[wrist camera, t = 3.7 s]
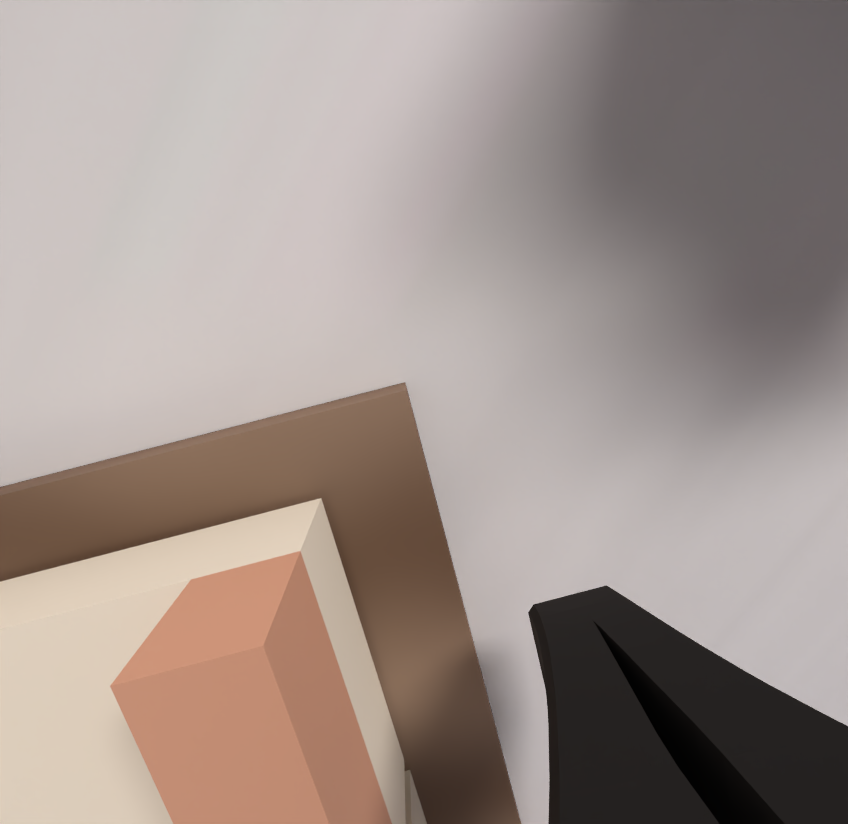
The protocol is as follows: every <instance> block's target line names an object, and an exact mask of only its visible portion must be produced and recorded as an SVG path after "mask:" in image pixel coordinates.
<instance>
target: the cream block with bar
mask: <svg viewBox="0 0 848 824" xmlns="http://www.w3.org/2000/svg"><path fill="white" fill-rule="evenodd" d="M0 824H406V816H405V772H404V757H403V754H402V751H401V748H400V745H399V742H398V739H397V735H396V732H395V729H394V726H393V723H392V720H391V717H390V713H389V710H388V707H387V704H386V701H385V698H384V694H383V691H382V688H381V685H380V682H379V679H378V676H377V672H376V669H375V666H374V663H373V660H372V657H371V653H370V650H369V647H368V644H367V641H366V638H365V635H364V631H363V628H362V625H361V622H360V619H359V616H358V613H357V609H356V606H355V603H354V600H353V597H352V594H351V590H350V587H349V584H348V581H347V578H346V575H345V572H344V568H343V565H342V562H341V559H340V556H339V553H338V549H337V546H336V543H335V540H334V537H333V534H332V531H331V527H330V524H329V521H328V518H327V515H326V512H325V509H324V505H323V502H322V499H321V498H320V499H316V500H312V501H308V502H304V503H300V504H296V505H293V506H289V507H285V508H281V509H277V510H273V511H270V512H266V513H262V514H258V515H254V516H250V517H247V518H243V519H239V520H235V521H231V522H227V523H224V524H220V525H216V526H212V527H208V528H204V529H201V530H197V531H193V532H189V533H185V534H181V535H177V536H174V537H170V538H166V539H162V540H158V541H154V542H151V543H147V544H143V545H139V546H135V547H131V548H128V549H124V550H120V551H116V552H112V553H108V554H105V555H101V556H97V557H93V558H89V559H85V560H81V561H78V562H74V563H70V564H66V565H62V566H58V567H55V568H51V569H47V570H43V571H39V572H35V573H32V574H28V575H24V576H20V577H16V578H12V579H9V580H5V581H1V582H0Z"/></svg>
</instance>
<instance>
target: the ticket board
mask: <svg viewBox="0 0 848 824" xmlns="http://www.w3.org/2000/svg"><path fill="white" fill-rule="evenodd" d="M320 498H321V499H322V502H323V505H324V509H325V512H326V515H327V518H328V521H329V524H330V527H331V531H332V534H333V537H334V540H335V543H336V546H337V549H338V553H339V556H340V559H341V562H342V565H343V568H344V572H345V575H346V578H347V581H348V584H349V587H350V590H351V594H352V597H353V600H354V603H355V606H356V609H357V613H358V616H359V619H360V622H361V625H362V628H363V631H364V635H365V638H366V641H367V644H368V647H369V650H370V653H371V657H372V660H373V663H374V666H375V669H376V672H377V676H378V679H379V682H380V685H381V688H382V691H383V694H384V698H385V701H386V704H387V707H388V710H389V713H390V717H391V720H392V723H393V726H394V729H395V732H396V735H397V739H398V742H399V745H400V748H401V751H402V754H403V757H404V772H405V816H406V824H521V821H520V818H519V814H518V810H517V806H516V802H515V799H514V795H513V791H512V787H511V783H510V780H509V776H508V772H507V768H506V764H505V761H504V757H503V753H502V749H501V745H500V742H499V738H498V734H497V730H496V726H495V723H494V719H493V715H492V711H491V707H490V703H489V700H488V696H487V692H486V688H485V684H484V681H483V677H482V673H481V669H480V665H479V662H478V658H477V654H476V650H475V646H474V643H473V639H472V635H471V631H470V627H469V624H468V620H467V616H466V612H465V608H464V605H463V601H462V597H461V593H460V589H459V585H458V582H457V578H456V574H455V570H454V566H453V563H452V559H451V555H450V551H449V547H448V544H447V540H446V536H445V532H444V528H443V525H442V521H441V517H440V513H439V509H438V506H437V502H436V498H435V494H434V490H433V487H432V483H431V479H430V475H429V471H428V468H427V464H426V460H425V456H424V452H423V448H422V445H421V441H420V437H419V433H418V429H417V426H416V422H415V418H414V414H413V410H412V407H411V403H410V399H409V395H408V391H407V388H406V384H405V383H401V384H397V385H393V386H389V387H385V388H382V389H378V390H374V391H370V392H366V393H362V394H358V395H354V396H351V397H347V398H343V399H339V400H335V401H331V402H327V403H324V404H320V405H316V406H312V407H308V408H304V409H300V410H297V411H293V412H289V413H285V414H281V415H277V416H273V417H269V418H266V419H262V420H258V421H254V422H250V423H246V424H242V425H239V426H235V427H231V428H227V429H223V430H219V431H215V432H212V433H208V434H204V435H200V436H196V437H192V438H188V439H185V440H181V441H177V442H173V443H169V444H165V445H161V446H157V447H154V448H150V449H146V450H142V451H138V452H134V453H130V454H127V455H123V456H119V457H115V458H111V459H107V460H103V461H100V462H96V463H92V464H88V465H84V466H80V467H76V468H72V469H69V470H65V471H61V472H57V473H53V474H49V475H45V476H42V477H38V478H34V479H30V480H26V481H22V482H18V483H15V484H11V485H7V486H3V487H0V582H1V581H5V580H9V579H12V578H16V577H20V576H24V575H28V574H32V573H35V572H39V571H43V570H47V569H51V568H55V567H58V566H62V565H66V564H70V563H74V562H78V561H81V560H85V559H89V558H93V557H97V556H101V555H105V554H108V553H112V552H116V551H120V550H124V549H128V548H131V547H135V546H139V545H143V544H147V543H151V542H154V541H158V540H162V539H166V538H170V537H174V536H177V535H181V534H185V533H189V532H193V531H197V530H201V529H204V528H208V527H212V526H216V525H220V524H224V523H227V522H231V521H235V520H239V519H243V518H247V517H250V516H254V515H258V514H262V513H266V512H270V511H273V510H277V509H281V508H285V507H289V506H293V505H296V504H300V503H304V502H308V501H312V500H316V499H320Z"/></svg>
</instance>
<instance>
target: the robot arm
mask: <svg viewBox="0 0 848 824" xmlns="http://www.w3.org/2000/svg"><path fill="white" fill-rule="evenodd" d="M528 613H529V618H530V622H531V627H532V631H533V635H534V640H535V644H536V648H537V653H538V657H539V662H540V666H541V670H542V675H543V679H544V684H545V688H546V695H547V706H548V722H549V772H550V789H549V824H848V726H846V725H844V724H842V723H840V722H838V721H836V720H834V719H832V718H831V717H829V716H827V715H825V714H823V713H821V712H819V711H817V710H815V709H813V708H812V707H810V706H808V705H806V704H804V703H802V702H800V701H798V700H797V699H795V698H793V697H791V696H789V695H787V694H785V693H783V692H782V691H780V690H778V689H776V688H774V687H772V686H770V685H768V684H767V683H765V682H763V681H761V680H760V679H758V678H756V677H754V676H752V675H751V674H749V673H747V672H745V671H744V670H742V669H740V668H739V667H737V666H735V665H734V664H732V663H730V662H728V661H727V660H725V659H723V658H722V657H720V656H718V655H717V654H715V653H713V652H712V651H710V650H708V649H707V648H705V647H703V646H701V645H700V644H698V643H697V642H695V641H693V640H692V639H690V638H688V637H687V636H685V635H684V634H682V633H680V632H679V631H677V630H676V629H674V628H672V627H671V626H669V625H668V624H666V623H665V622H663V621H661V620H660V619H658V618H657V617H655V616H654V615H652V614H650V613H649V612H647V611H646V610H644V609H643V608H641V607H640V606H638V605H636V604H635V603H633V602H632V601H630V600H629V599H627V598H626V597H624V596H622V595H621V594H619V593H618V592H616V591H614V590H613V589H611V588H610V587H608V586H603V587H599V588H596V589H592V590H588V591H584V592H580V593H576V594H573V595H569V596H565V597H561V598H557V599H553V600H550V601H546V602H542V603H538V604H534V605H533V606H532V608H531V609H530V611H529V612H528Z"/></svg>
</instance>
